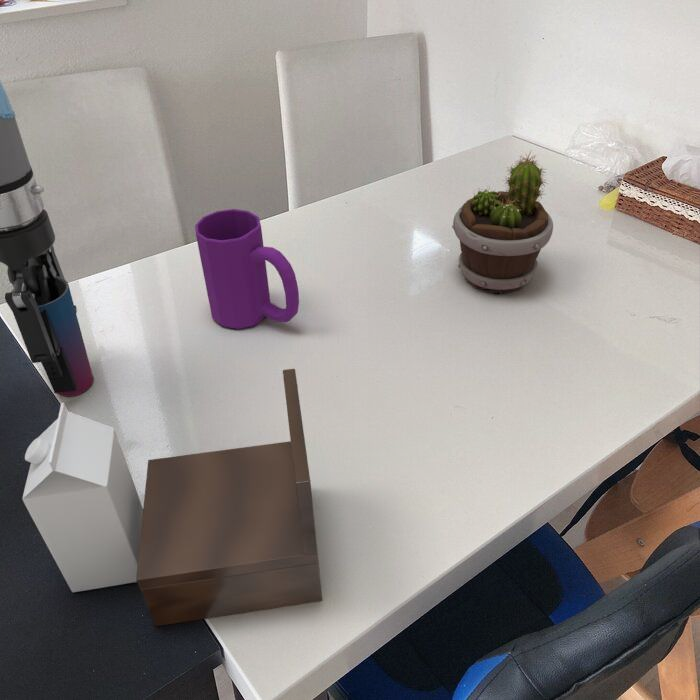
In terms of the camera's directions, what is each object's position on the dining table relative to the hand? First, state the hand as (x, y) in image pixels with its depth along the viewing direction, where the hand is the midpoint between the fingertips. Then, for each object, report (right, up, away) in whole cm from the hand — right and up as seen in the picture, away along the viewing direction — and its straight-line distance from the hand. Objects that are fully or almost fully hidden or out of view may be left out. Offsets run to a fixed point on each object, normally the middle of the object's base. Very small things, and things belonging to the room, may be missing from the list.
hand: (70, 372), depth 90 cm
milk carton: (+12, -19, -19) cm, 30 cm away
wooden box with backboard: (+25, -18, -19) cm, 37 cm away
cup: (0, -2, +1) cm, 2 cm away
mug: (+23, +8, +12) cm, 27 cm away
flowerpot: (+60, +15, +18) cm, 65 cm away
